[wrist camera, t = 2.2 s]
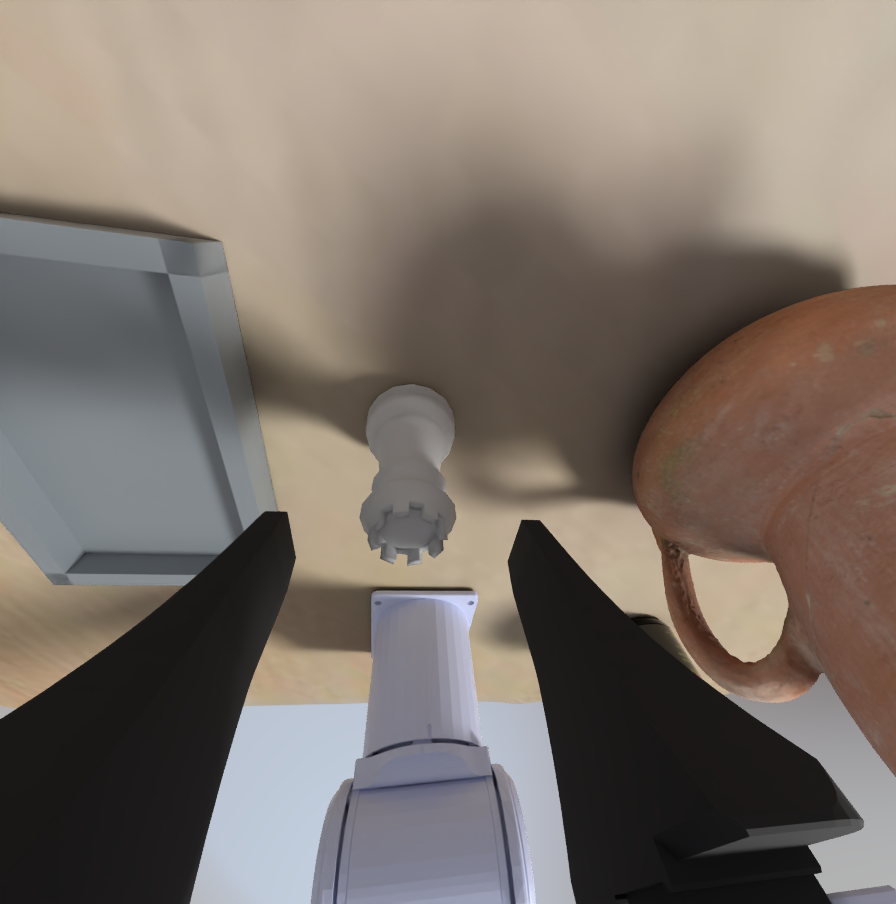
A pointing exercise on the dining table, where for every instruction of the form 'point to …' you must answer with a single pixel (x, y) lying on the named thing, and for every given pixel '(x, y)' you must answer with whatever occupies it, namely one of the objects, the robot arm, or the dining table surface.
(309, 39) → the dining table surface
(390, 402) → the rook chess piece
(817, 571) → the ceramic jug
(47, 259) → the tray
